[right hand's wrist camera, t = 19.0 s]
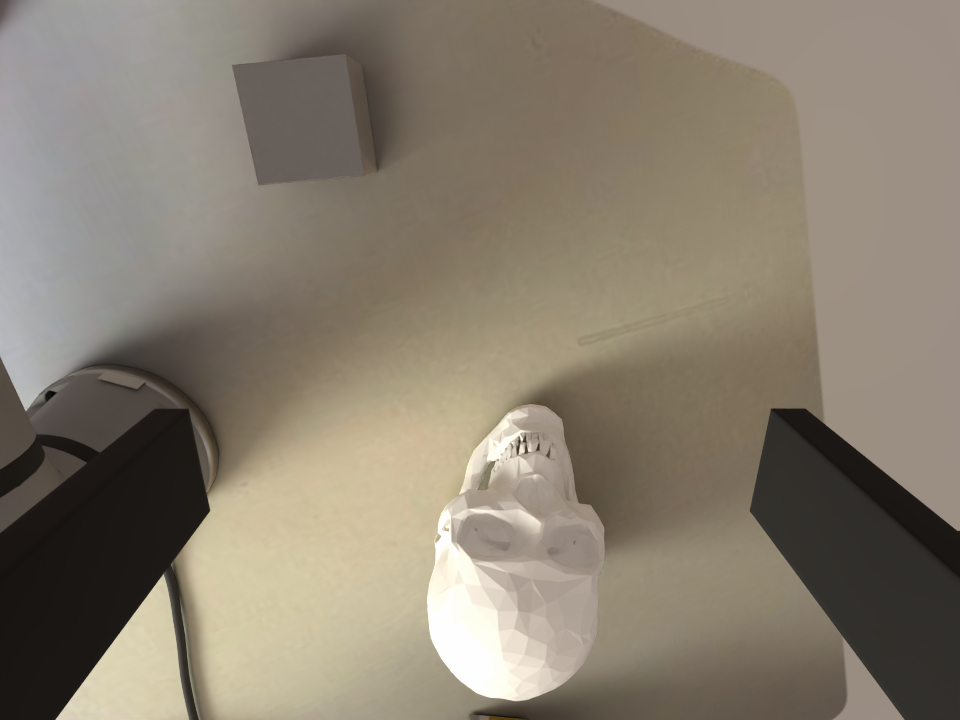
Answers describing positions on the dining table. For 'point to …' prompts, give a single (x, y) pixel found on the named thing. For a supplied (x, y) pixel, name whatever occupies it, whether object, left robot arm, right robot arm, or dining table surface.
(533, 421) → the skull
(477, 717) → the toy
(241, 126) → the dining table surface
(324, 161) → the matte grey square block
